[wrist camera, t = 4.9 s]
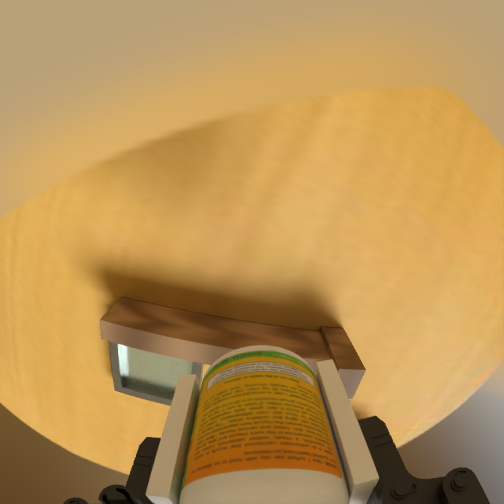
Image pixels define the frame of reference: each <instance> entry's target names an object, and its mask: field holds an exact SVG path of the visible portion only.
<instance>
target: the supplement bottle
mask: <svg viewBox="0 0 504 504" xmlns="http://www.w3.org/2000/svg"><path fill="white" fill-rule="evenodd" d="M349 502H350V499H349V492H348V488H347V483H346V480H345V476H344V472H343V469H342V465H341V462H340V458H339V454H338V451H337V447H336V443H335V440H334V436H333V433H332V429H331V425H330V422H329V418H328V415H327V411H326V408H325V404H324V401H323V397H322V394H321V390H320V387H319V384H318V381H317V378H316V375H315V373H314V371H313V369H312V368H311V366H310V365H309V364H308V363H307V362H306V361H305V360H304V359H303V358H301V357H300V356H299V355H297V354H295V353H293V352H291V351H289V350H286V349H283V348H280V347H275V346H268V345H256V346H248V347H243V348H239V349H236V350H233V351H231V352H229V353H227V354H225V355H223V356H221V357H220V358H219V359H217V360H216V361H215V362H214V363H213V364H212V365H211V366H210V367H209V369H208V370H207V372H206V374H205V376H204V378H203V381H202V385H201V389H200V394H199V400H198V405H197V410H196V415H195V420H194V426H193V431H192V436H191V441H190V446H189V452H188V457H187V462H186V468H185V473H184V478H183V482H182V488H181V494H180V501H179V504H349Z"/></svg>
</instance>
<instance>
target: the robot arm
mask: <svg viewBox="0 0 504 504" xmlns="http://www.w3.org/2000/svg"><path fill="white" fill-rule="evenodd" d="M316 378H317V381H318V384H319V387H320V390H321V394H322V397H323V401H324V404H325V408H326V411H327V415H328V418H329V422H330V425H331V429H332V433H333V436H334V440H335V443H336V447H337V451H338V454H339V458H340V462H341V465H342V469H343V472H344V476H345V480H346V483H347V488H348V492H349V499H350V502H349V504H490V503H489V501H488V499H487V497H486V495H485V493H484V491H483V489H482V487H481V485H480V483H479V481H478V479H477V477H476V476H475V474H474V473H473V472H472V470H470V469H468V468H456V469H453V470H452V471H450V472H449V473H448V474H447V475H446V477H439V478H432V479H419V478H416V477H414V476H412V475H411V474H409V473H408V471H407V470H406V468H405V466H404V463H403V461H402V459H401V457H400V455H399V452H398V450H397V448H396V446H395V444H394V443H393V439H392V437H391V435H390V434H389V431H388V429H387V427H386V425H385V423H384V422H383V421H382V420H380V419H379V418H378V417H377V416H373V417H369V418H365V419H361V420H357V418H356V416H355V413H354V411H353V408H352V406H351V403H350V401H349V398H348V396H347V393H346V391H345V388H344V386H343V383H342V381H341V379H340V376H339V374H338V371H337V369H336V366H335V364H334V362H333V359H331V360H325V361H319V362H316ZM199 394H200V386H199V383H198V380H197V376H196V374H192V375H180V377H179V380H178V384H177V387H176V390H175V393H174V397H173V400H172V403H171V406H170V410H169V413H168V416H167V420H166V423H165V427H164V430H163V433H162V437H161V438H153V437H147V438H146V439H145V440H144V441H143V442H142V443H141V444H140V445H139V448H138V451H137V454H136V457H135V460H134V465H133V466H132V469H131V472H130V475H129V478H128V481H127V484H126V487H125V486H123V485H111V486H108V487H106V488H104V489H103V490H102V492H101V493H100V495H99V500H100V501H101V502H102V503H103V504H179V501H180V494H181V488H182V482H183V478H184V473H185V468H186V462H187V457H188V452H189V446H190V441H191V436H192V431H193V426H194V420H195V415H196V410H197V405H198V400H199ZM64 504H88V503H87V502H86V501H85V500H83V499H81V498H75V497H74V498H70V499H68V500H67V501H65V502H64Z"/></svg>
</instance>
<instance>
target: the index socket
mask: <svg viewBox="0 0 504 504" xmlns="http://www.w3.org/2000/svg"><path fill="white" fill-rule="evenodd" d="M109 345H110V356H111V365H112V374H113V381H114V389H115V391H118V392H121V393H124V394H128V395H131V396H135V397H138V398H142V399H146V400H149V401H153V402H157V403H161V404H166V405H170V406H171V403H172V400H173V397H174V393H175V390H176V387H177V384H178V380H179V377H180V375H192V374H196V376H197V380H198V383H199V386H200V389H201V382H202V373H203V365H204V364H203V363H198V362H192V361H187V360H182V359H178V358H173V357H169V356H164V355H160V354H155V353H151V352H147V351H143V350H139V349H135V348H132V347H128V346H124V345H121V344H117V343H113V342H110V341H109Z"/></svg>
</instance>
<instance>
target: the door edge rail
mask: <svg viewBox="0 0 504 504" xmlns="http://www.w3.org/2000/svg"><path fill="white" fill-rule="evenodd" d="M100 329H101V339H103V340H107V341H110V342H113V343H117V344H121V345H124V346H128V347H132V348H135V349H139V350H143V351H147V352H151V353H155V354H160V355H164V356H169V357H173V358H178V359H182V360H187V361H192V362H198V363H203V364H208V365H212V364H213V363H214V362H215V361H216V360H217V359H219V358H220V357H221V356H223V355H225V354H227V353H229V352H231V351H233V350H236V349H239V348H243V347H248V346H256V345H268V346H275V347H280V348H283V349H286V350H289V351H291V352H293V353H295V354H297V355H299V356H300V357H301V358H303V359H304V360H305V361H306V362H307V363H308V364H309V365H310V366H311V368H312V369H313V371H314V373H315V375H316V362H319V361H325V360H331V359H333V362H334V364H335V366H336V369H337V371H338V374H339V376H340V379H341V381H342V383H343V386H344V388H345V391H346V393H347V396H348V398H349V399H352V398H353V396H354V394H355V392H356V390H357V388H358V386H359V384H360V382H361V380H362V377H363V375H364V373H365V371H366V369H365V367H364V365H363V364H362V362H361V360H360V358H359V356H358V354H357V352H356V350H355V349H354V347H353V345H352V343H351V341H350V339H349V338H348V336H347V334H346V332H345V330H344V329H343V328H334V327H325V326H321V329H320V331H312V330H304V329H296V328H288V327H281V326H273V325H266V324H260V323H253V322H246V321H240V320H234V319H228V318H222V317H216V316H211V315H205V314H200V313H195V312H189V311H184V310H179V309H174V308H169V307H164V306H160V305H155V304H150V303H146V302H141V301H137V300H133V299H128V298H124V297H121V298H120V299H119V300H118V301H117V303H116V304H115V305H114V306H113V307H112V308H111V309H110V310H109V311H108V312H107V313H106V314H105V315H104V316H103V317H102V318H101V319H100Z"/></svg>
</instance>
